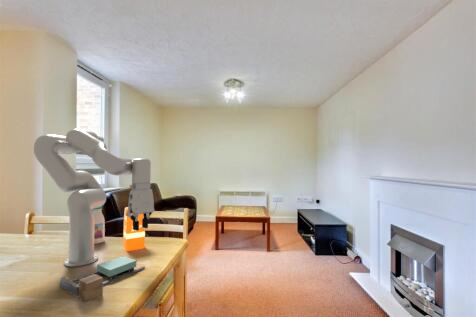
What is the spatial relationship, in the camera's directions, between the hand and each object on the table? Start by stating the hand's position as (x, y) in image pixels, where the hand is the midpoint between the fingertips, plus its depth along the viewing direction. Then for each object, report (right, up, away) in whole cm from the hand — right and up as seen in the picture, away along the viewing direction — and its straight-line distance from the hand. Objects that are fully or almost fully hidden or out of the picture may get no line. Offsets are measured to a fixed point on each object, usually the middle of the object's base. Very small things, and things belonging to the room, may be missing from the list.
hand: (140, 228), depth 108 cm
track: (-8, -15, -13) cm, 21 cm away
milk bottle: (-36, -16, +29) cm, 49 cm away
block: (-5, -15, -27) cm, 31 cm away
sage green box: (-6, -15, -9) cm, 19 cm away
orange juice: (-12, -16, +21) cm, 29 cm away
